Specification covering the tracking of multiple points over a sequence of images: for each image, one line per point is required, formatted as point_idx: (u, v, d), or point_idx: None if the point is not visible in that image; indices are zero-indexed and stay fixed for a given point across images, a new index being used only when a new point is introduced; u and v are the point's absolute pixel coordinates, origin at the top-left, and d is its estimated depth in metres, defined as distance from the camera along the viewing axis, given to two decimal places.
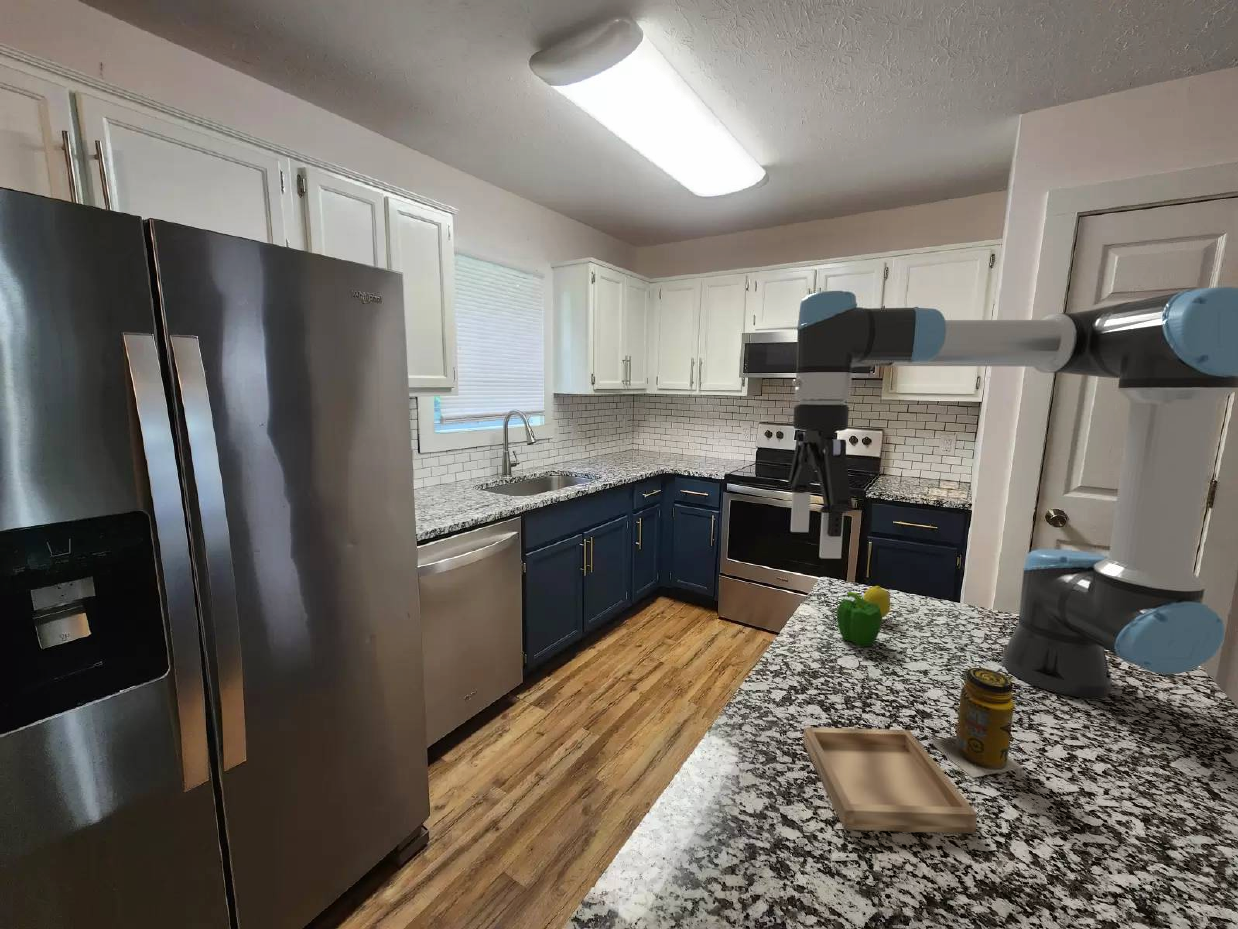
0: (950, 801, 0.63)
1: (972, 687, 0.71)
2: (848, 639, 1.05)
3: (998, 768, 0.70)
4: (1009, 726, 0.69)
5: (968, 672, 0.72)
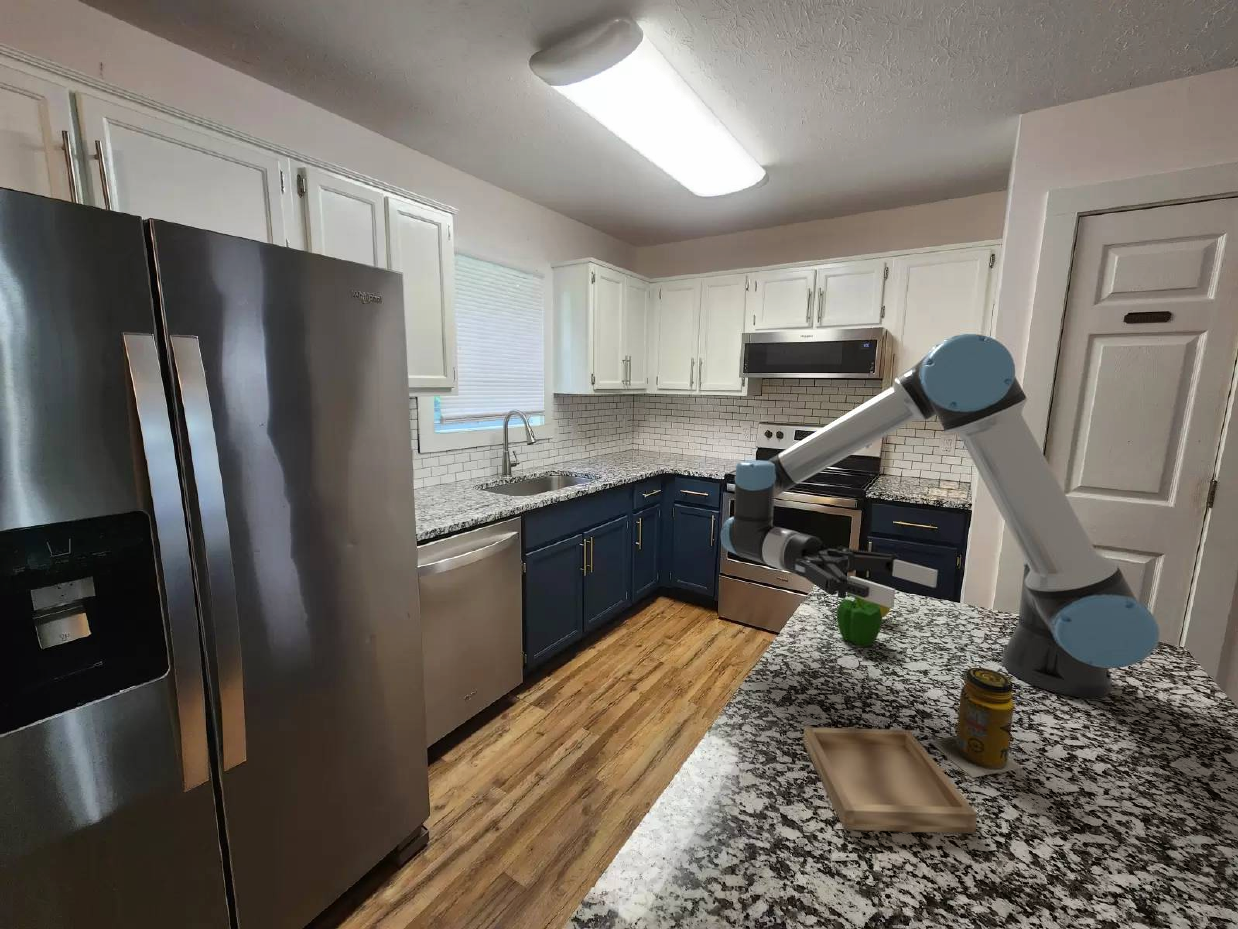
0: (950, 801, 0.63)
1: (972, 687, 0.71)
2: (848, 639, 1.05)
3: (998, 768, 0.70)
4: (1009, 726, 0.69)
5: (968, 672, 0.72)
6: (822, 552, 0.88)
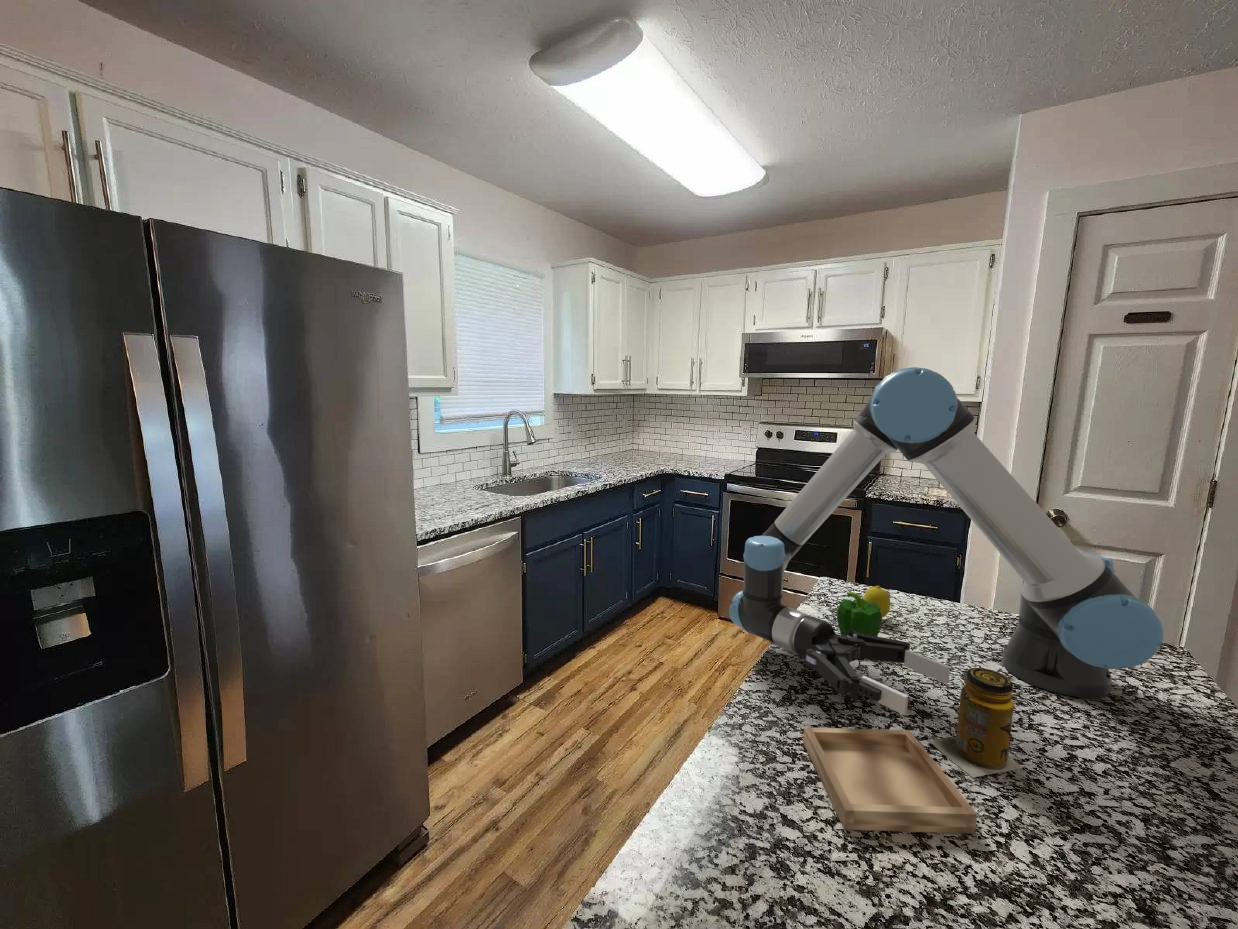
0: (950, 801, 0.63)
1: (972, 687, 0.71)
2: None
3: (998, 768, 0.70)
4: (1009, 726, 0.69)
5: (968, 672, 0.72)
6: (833, 641, 0.88)
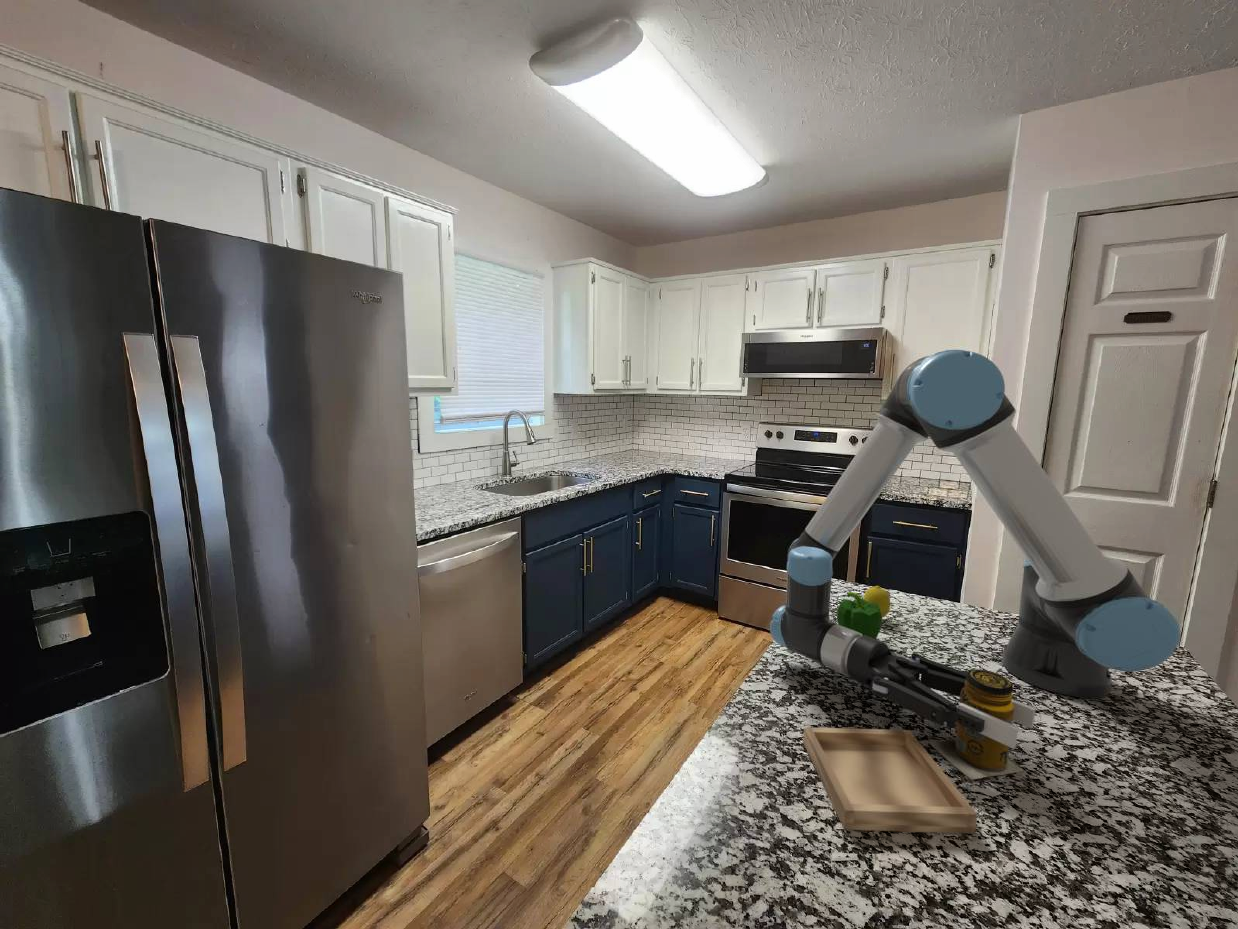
0: (950, 801, 0.63)
1: (972, 689, 0.70)
2: None
3: (998, 770, 0.69)
4: None
5: (968, 673, 0.72)
6: (893, 664, 0.80)
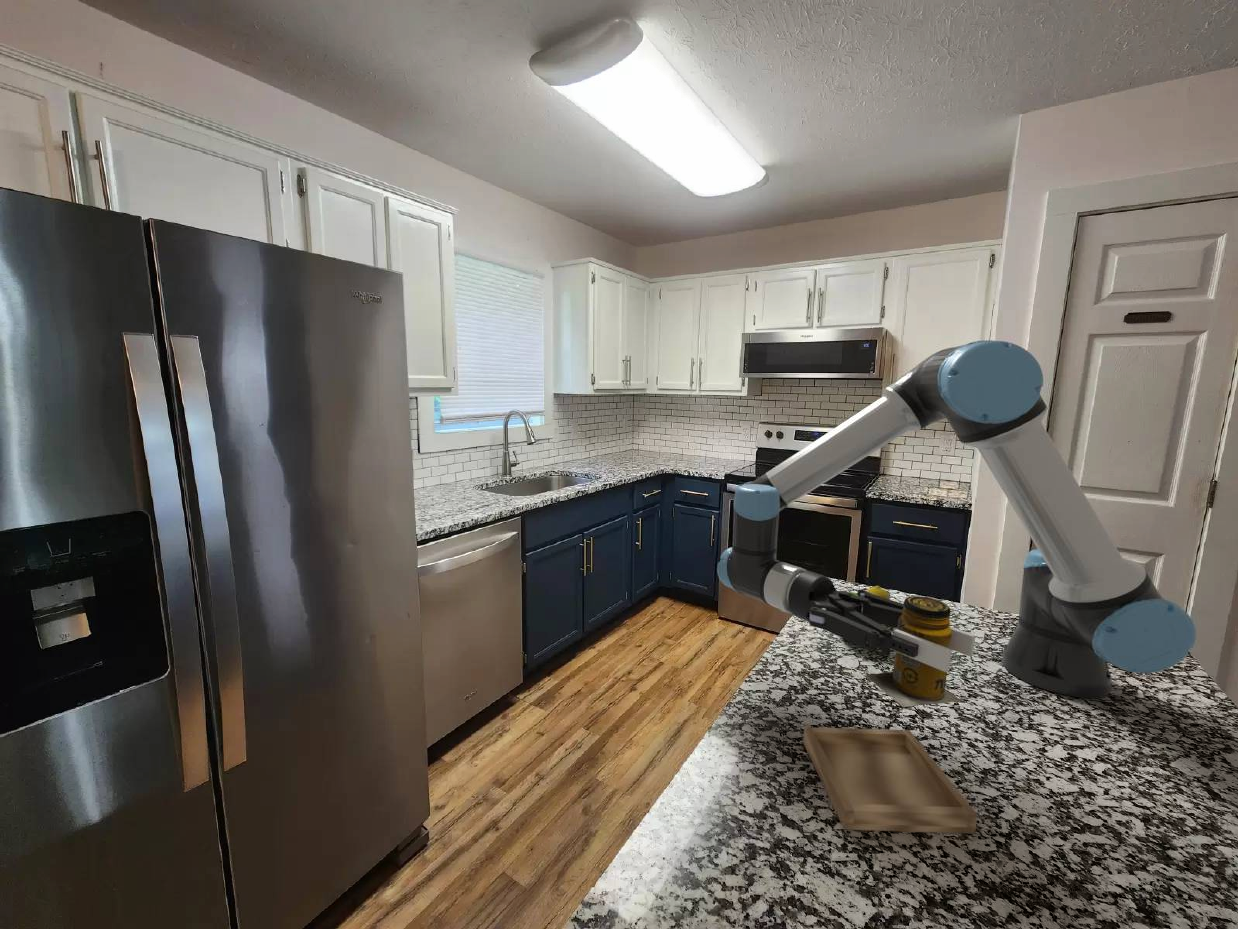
0: (950, 801, 0.63)
1: (908, 614, 0.66)
2: None
3: (933, 699, 0.65)
4: None
5: (905, 599, 0.68)
6: (833, 596, 0.76)
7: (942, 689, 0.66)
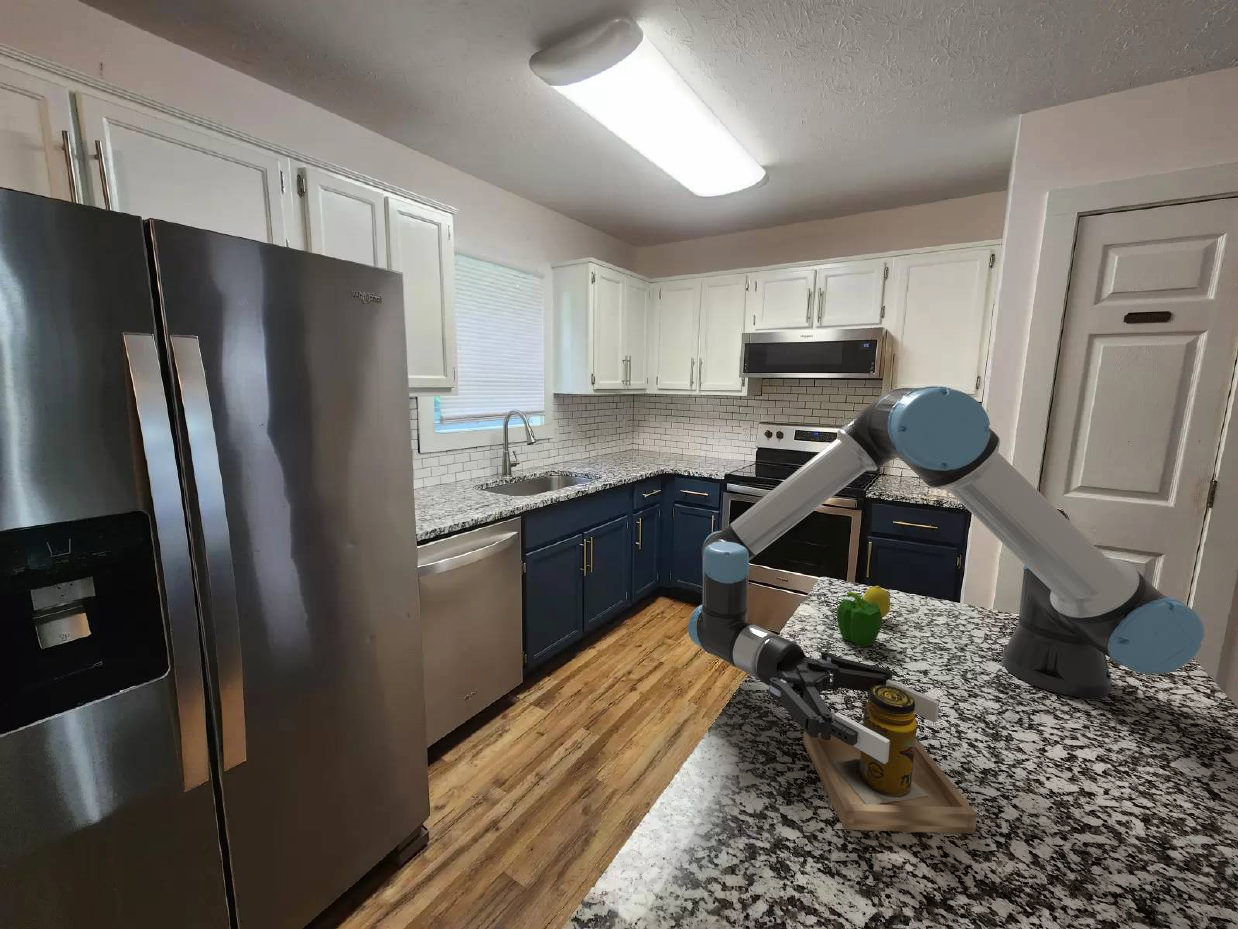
0: (950, 801, 0.63)
1: (872, 707, 0.65)
2: (848, 639, 1.05)
3: (899, 795, 0.64)
4: (910, 750, 0.63)
5: (870, 690, 0.67)
6: (801, 667, 0.74)
7: (908, 784, 0.64)
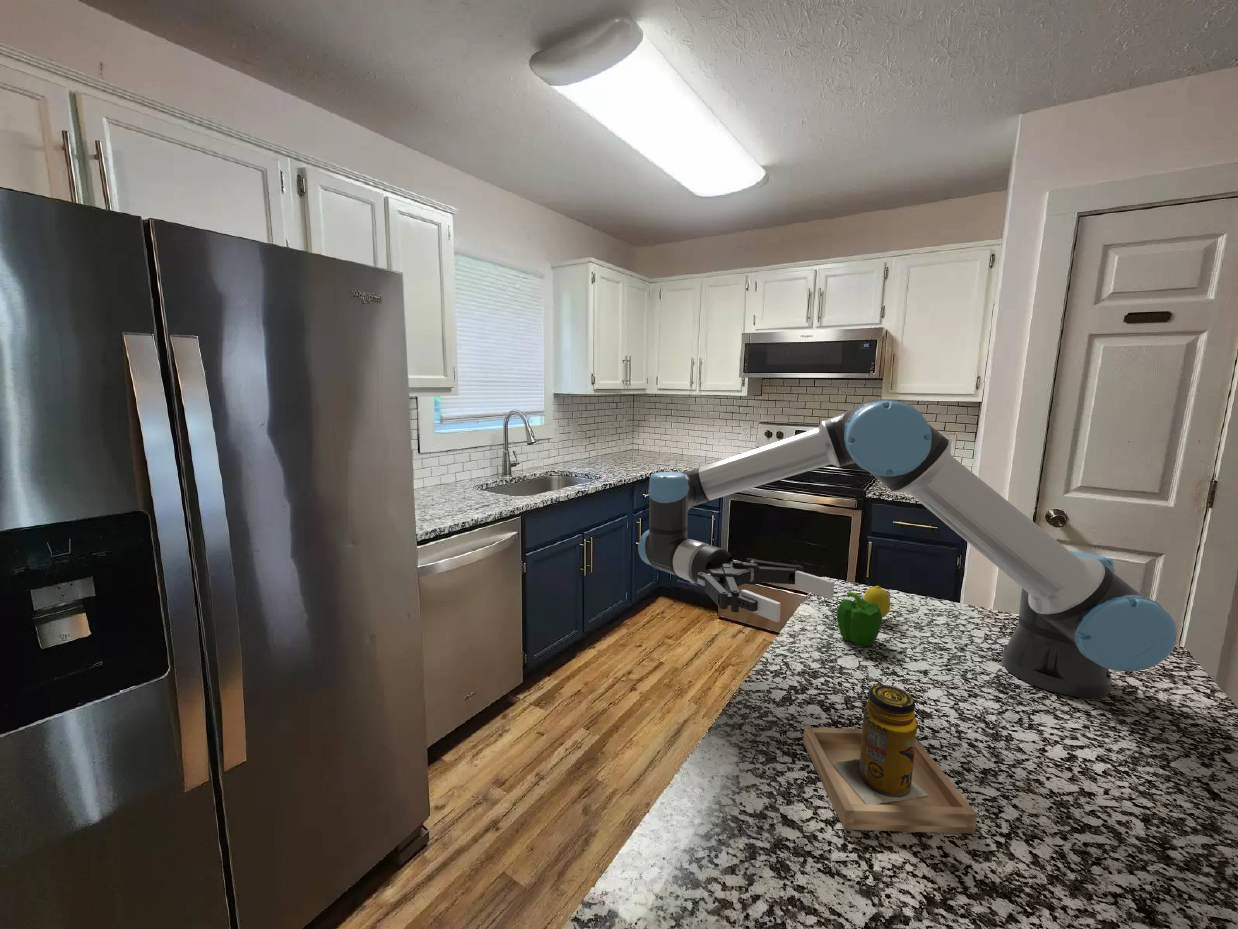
0: (950, 801, 0.63)
1: (872, 707, 0.65)
2: (848, 639, 1.05)
3: (899, 795, 0.64)
4: (910, 750, 0.63)
5: (870, 690, 0.67)
6: (725, 565, 0.88)
7: (908, 784, 0.64)
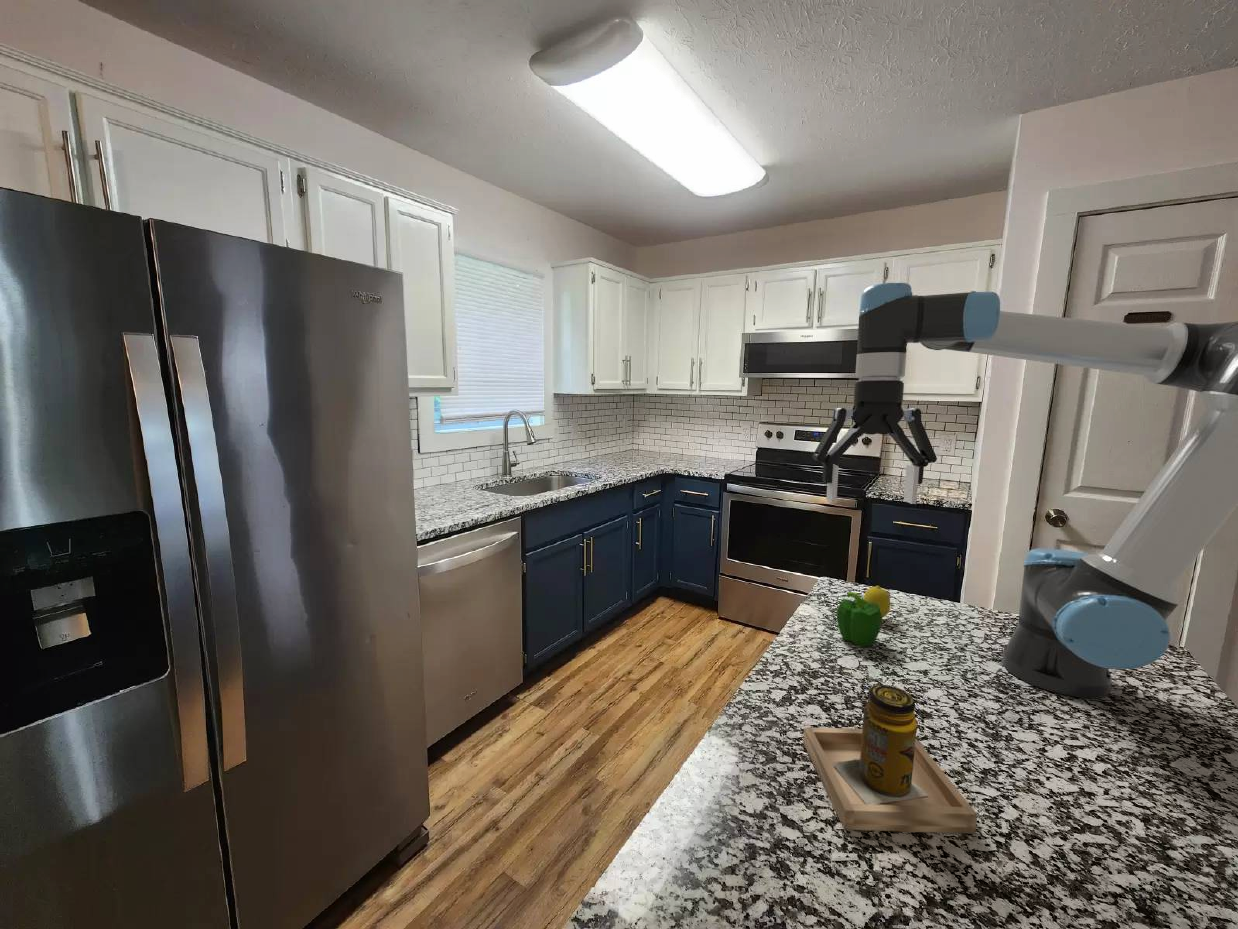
0: (950, 801, 0.63)
1: (872, 707, 0.65)
2: (848, 639, 1.05)
3: (899, 795, 0.64)
4: (910, 750, 0.63)
5: (870, 690, 0.67)
6: (873, 418, 0.87)
7: (908, 784, 0.64)
